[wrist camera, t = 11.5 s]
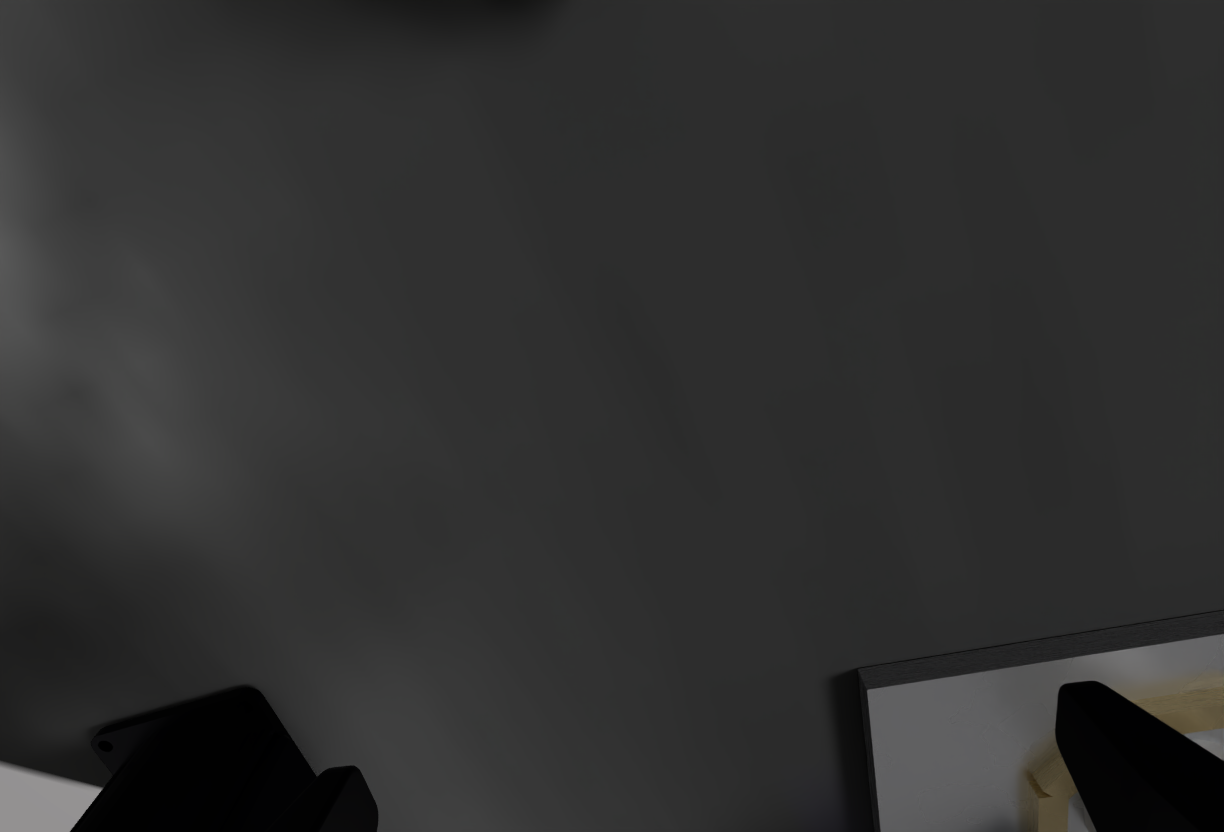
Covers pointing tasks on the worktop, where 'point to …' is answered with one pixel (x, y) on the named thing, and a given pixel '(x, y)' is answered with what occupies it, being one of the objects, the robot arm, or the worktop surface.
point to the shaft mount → (1022, 722)
